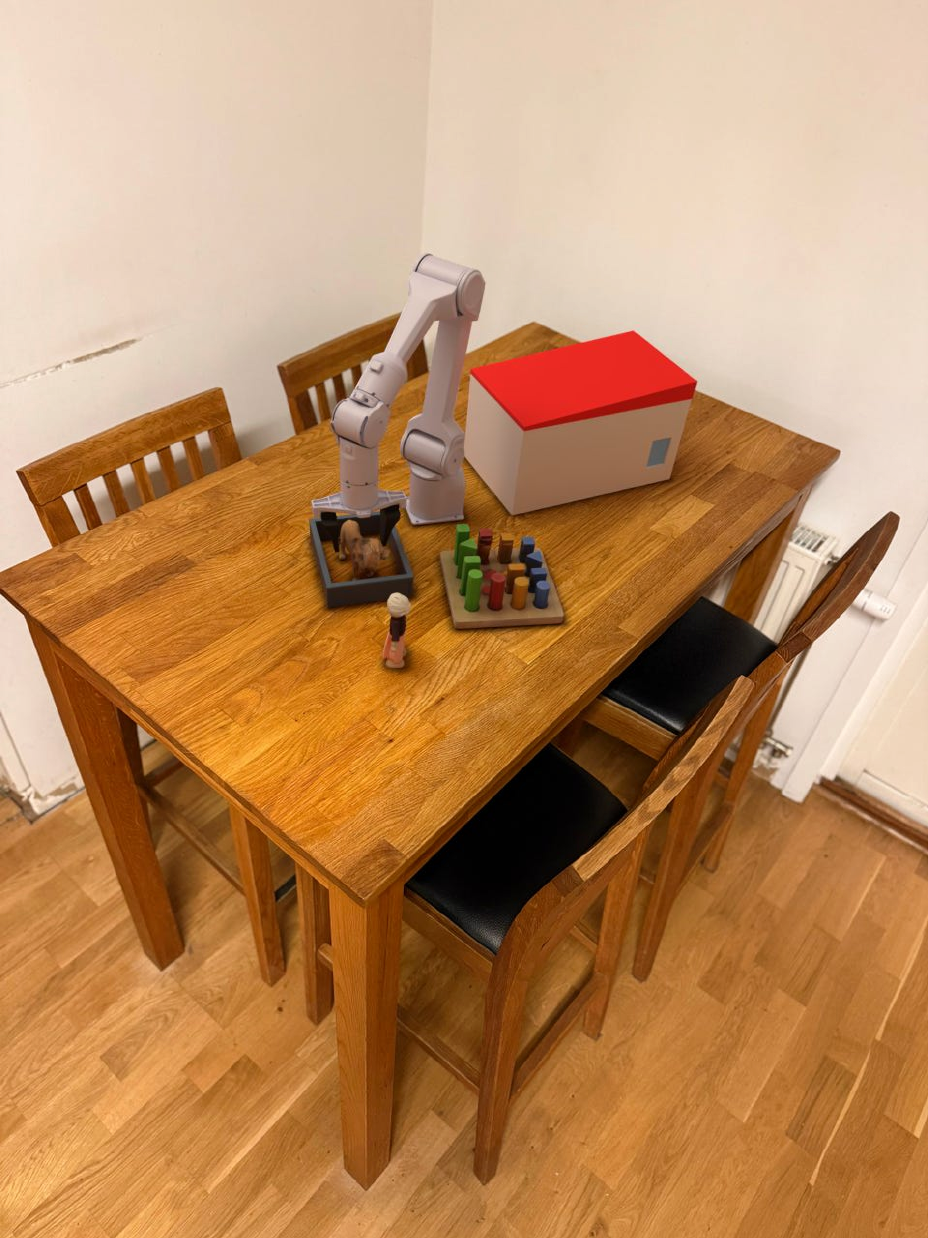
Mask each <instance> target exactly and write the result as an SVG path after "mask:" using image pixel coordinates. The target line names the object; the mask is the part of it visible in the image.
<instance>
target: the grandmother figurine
mask: <svg viewBox="0 0 928 1238" xmlns="http://www.w3.org/2000/svg"><path fill="white" fill-rule="evenodd" d="M386 607H387V612H388V615H389V616H390V618H389V629H388V633H387V636H386V638H385V641H384V645H383V649H382V658H383V659H386V660H385V665H386V667H387V668H389V669H401V668H403V667H405V661H404V657H405V656H406V655H407V651H406V642H405V641H406V640H405V637H406V631H407V615H408V614H409V613H410V612H411V609H412V605H411V602H410V601H409V599H408V597H406V596H404V595H402V594H400V593H393V594H391V595H390V597H389V599H388V600H387V602H386Z"/></svg>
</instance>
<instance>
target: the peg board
mask: <svg viewBox="0 0 928 1238" xmlns="http://www.w3.org/2000/svg"><path fill="white" fill-rule="evenodd" d="M470 534H471V529H470V526H469V524H467V523H462V524H461V523H460V524H459V523H458V524H456V525H455V539H454V549H453V550H442V551H440V552H439V563H440V568H441V573H442V577H443V582H444V587H445V591H446V596H447V600H448V604H449V605H448V606H449V609H450V613H451V618H452V623H453V626H454V628H455V629H458V630H461V629H462V630H463V629H481V628H482V629H483V628H495V627H496V628H497V627H498V628H499V627H514V626H531V625H533V626H534V625H550V624H553V625H554V624H561V623H563V621H564V617H565V613H564V609H563V606H562V603H561V602H560V599H559V595H558V592H557V590H556V587H555V584H554V582H553V578H552V575H551V573H550V570H549V567H548V563H547V561H546V559H545V556H544V553H543V550H542V549H541V547H537V546H536V541H535V538H534V537H533V536H522V537H521V541H520V547H514V544H515V539H514V534H513V533H512V532H501V533H500V535H499V541H498V542H499V543H498V548H492V544H493V531H492V529H491V528H479V529H478V537H477V544H476V541H475V539H474V538H473V537H471V538H470Z"/></svg>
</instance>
